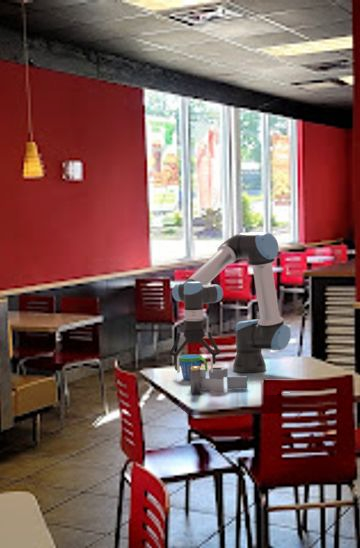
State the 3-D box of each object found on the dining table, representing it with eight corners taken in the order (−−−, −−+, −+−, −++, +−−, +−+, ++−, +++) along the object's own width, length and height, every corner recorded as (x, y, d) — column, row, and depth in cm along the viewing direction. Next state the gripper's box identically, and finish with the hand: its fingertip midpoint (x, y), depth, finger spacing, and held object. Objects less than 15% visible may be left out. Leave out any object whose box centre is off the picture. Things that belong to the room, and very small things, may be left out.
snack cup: (170, 379, 369) (169, 356, 368) (183, 375, 377) (182, 353, 377) (199, 382, 360) (198, 359, 359) (212, 378, 368) (211, 355, 368)
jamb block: (191, 387, 350) (190, 366, 349) (205, 387, 349) (205, 366, 349) (190, 389, 345) (190, 369, 344) (205, 389, 345) (204, 368, 344)
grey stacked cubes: (209, 390, 341) (208, 370, 340) (209, 387, 347) (209, 367, 346) (247, 389, 340) (246, 369, 339) (246, 386, 346) (246, 366, 345)
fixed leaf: (193, 388, 347) (192, 367, 347) (223, 388, 346) (223, 367, 346) (192, 391, 342) (191, 370, 341) (223, 391, 341) (222, 369, 340)
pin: (192, 393, 338) (191, 366, 337) (201, 393, 338) (200, 366, 337) (191, 395, 335) (190, 368, 334) (200, 395, 334) (199, 367, 334)
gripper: (162, 321, 331) (163, 374, 333) (224, 320, 329) (225, 373, 331) (164, 319, 339) (165, 370, 340) (225, 318, 337) (226, 369, 338)
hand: (195, 372), depth 335 cm, fingers open, 13 cm apart
